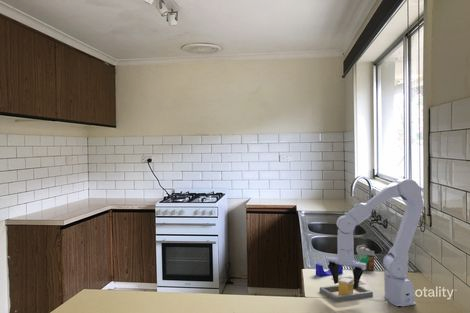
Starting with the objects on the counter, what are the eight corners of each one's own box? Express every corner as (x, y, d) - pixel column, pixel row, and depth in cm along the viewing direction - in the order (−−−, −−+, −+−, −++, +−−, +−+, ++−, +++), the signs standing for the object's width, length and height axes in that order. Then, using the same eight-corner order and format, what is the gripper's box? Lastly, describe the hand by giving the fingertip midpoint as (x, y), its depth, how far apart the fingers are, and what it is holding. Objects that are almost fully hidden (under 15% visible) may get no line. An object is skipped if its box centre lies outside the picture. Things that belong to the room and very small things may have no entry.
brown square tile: (366, 286, 135) (366, 284, 135) (345, 289, 132) (345, 286, 132) (350, 278, 145) (350, 276, 145) (330, 281, 142) (330, 278, 142)
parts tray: (372, 298, 123) (372, 292, 123) (335, 304, 118) (335, 297, 118) (354, 289, 132) (354, 282, 132) (319, 294, 127) (319, 287, 127)
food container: (352, 265, 165) (352, 244, 165) (365, 265, 164) (365, 244, 165) (361, 273, 152) (361, 250, 153) (374, 273, 152) (374, 251, 152)
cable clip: (336, 273, 152) (336, 260, 153) (342, 276, 148) (342, 262, 148) (313, 276, 148) (313, 262, 148) (319, 279, 144) (319, 265, 144)
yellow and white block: (353, 294, 126) (353, 279, 126) (347, 298, 122) (347, 282, 122) (343, 291, 128) (343, 277, 128) (338, 295, 124) (338, 280, 124)
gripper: (369, 249, 124) (369, 287, 123) (331, 243, 133) (332, 278, 133) (362, 253, 118) (362, 292, 118) (323, 247, 128) (324, 283, 127)
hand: (345, 285), depth 125 cm, fingers open, 7 cm apart
